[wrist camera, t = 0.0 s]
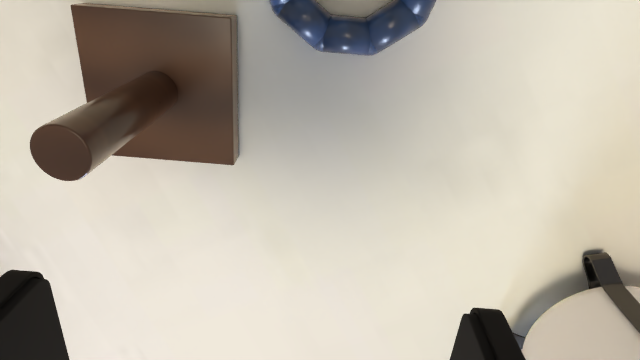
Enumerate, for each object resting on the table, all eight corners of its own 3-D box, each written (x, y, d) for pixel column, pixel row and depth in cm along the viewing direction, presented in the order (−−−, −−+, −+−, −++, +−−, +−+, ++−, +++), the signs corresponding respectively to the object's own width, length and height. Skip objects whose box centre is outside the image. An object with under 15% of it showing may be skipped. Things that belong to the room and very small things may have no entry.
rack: (84, 3, 25) (-96, 22, 15) (236, 15, 25) (165, 43, 15) (106, 146, 29) (-23, 241, 19) (238, 156, 29) (183, 257, 18)
